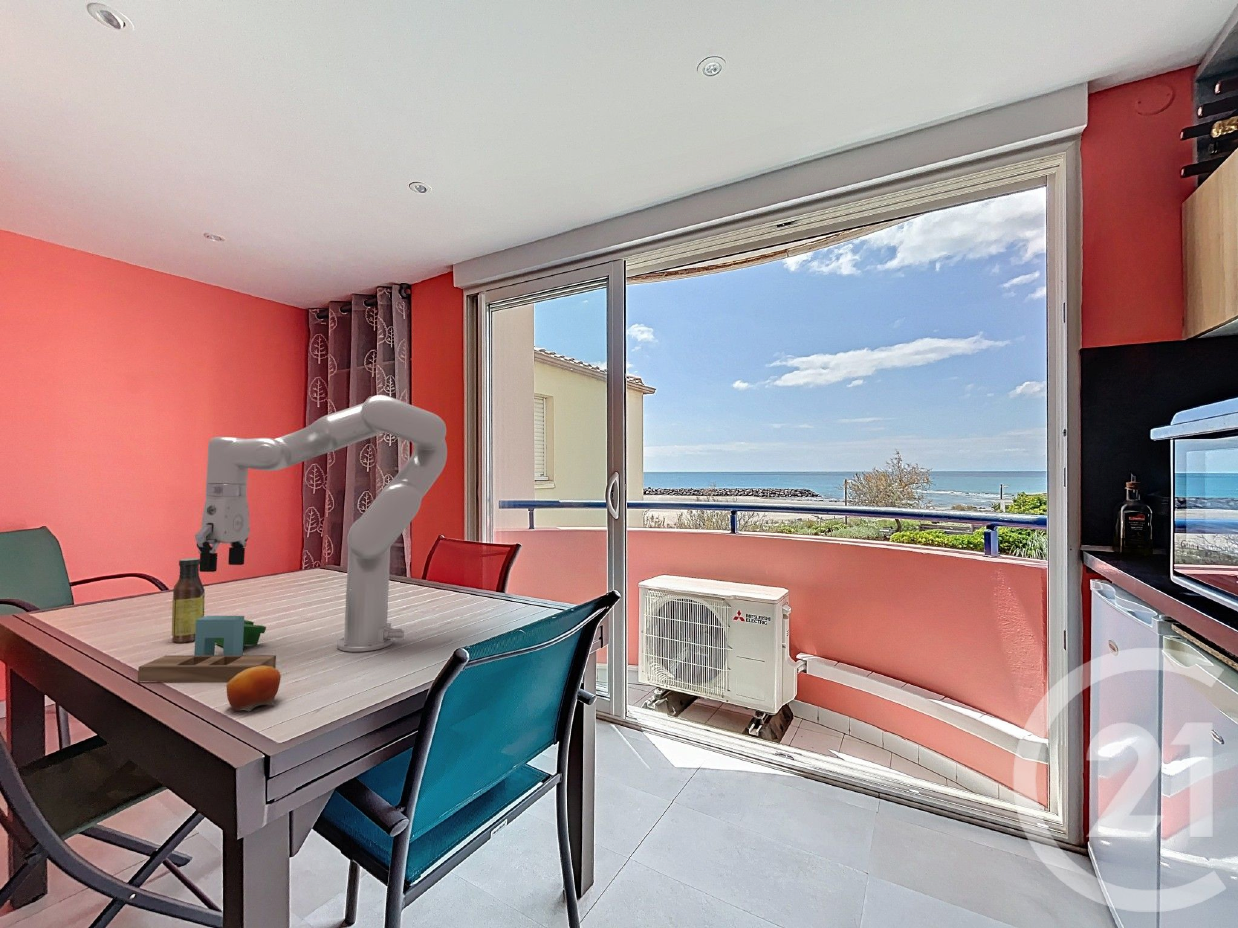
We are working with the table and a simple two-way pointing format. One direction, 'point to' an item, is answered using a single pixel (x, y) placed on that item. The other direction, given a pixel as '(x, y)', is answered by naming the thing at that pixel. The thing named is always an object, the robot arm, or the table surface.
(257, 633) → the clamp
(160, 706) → the table surface
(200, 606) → the sauce bottle
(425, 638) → the table surface
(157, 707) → the table surface
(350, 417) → the robot arm
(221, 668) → the slotted wooden board
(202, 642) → the clip
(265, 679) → the fruit
